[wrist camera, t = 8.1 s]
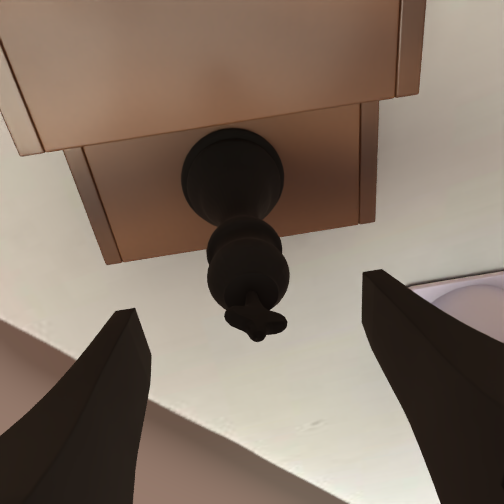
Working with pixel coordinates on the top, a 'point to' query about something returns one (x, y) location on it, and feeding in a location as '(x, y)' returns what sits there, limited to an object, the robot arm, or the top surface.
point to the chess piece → (240, 225)
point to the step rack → (206, 103)
